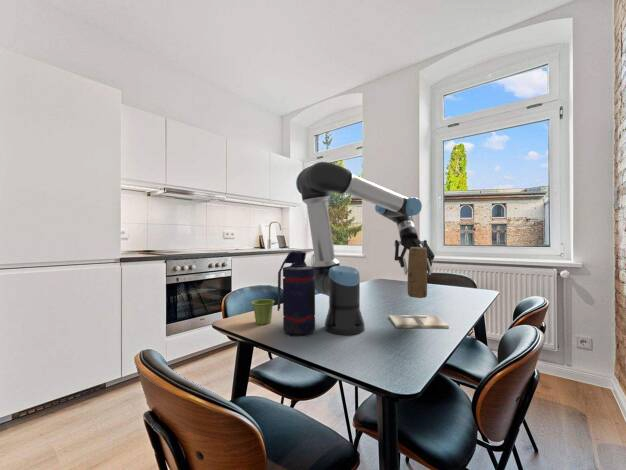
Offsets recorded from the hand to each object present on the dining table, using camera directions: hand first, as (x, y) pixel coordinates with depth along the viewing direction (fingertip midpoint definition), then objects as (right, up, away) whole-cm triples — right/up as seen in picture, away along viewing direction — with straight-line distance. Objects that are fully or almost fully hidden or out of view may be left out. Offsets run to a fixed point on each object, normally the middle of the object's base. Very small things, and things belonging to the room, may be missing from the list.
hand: (418, 272), depth 122 cm
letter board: (0, -21, +2) cm, 21 cm away
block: (0, -10, +2) cm, 10 cm away
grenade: (-48, -21, -9) cm, 54 cm away
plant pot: (-63, -21, +3) cm, 66 cm away
